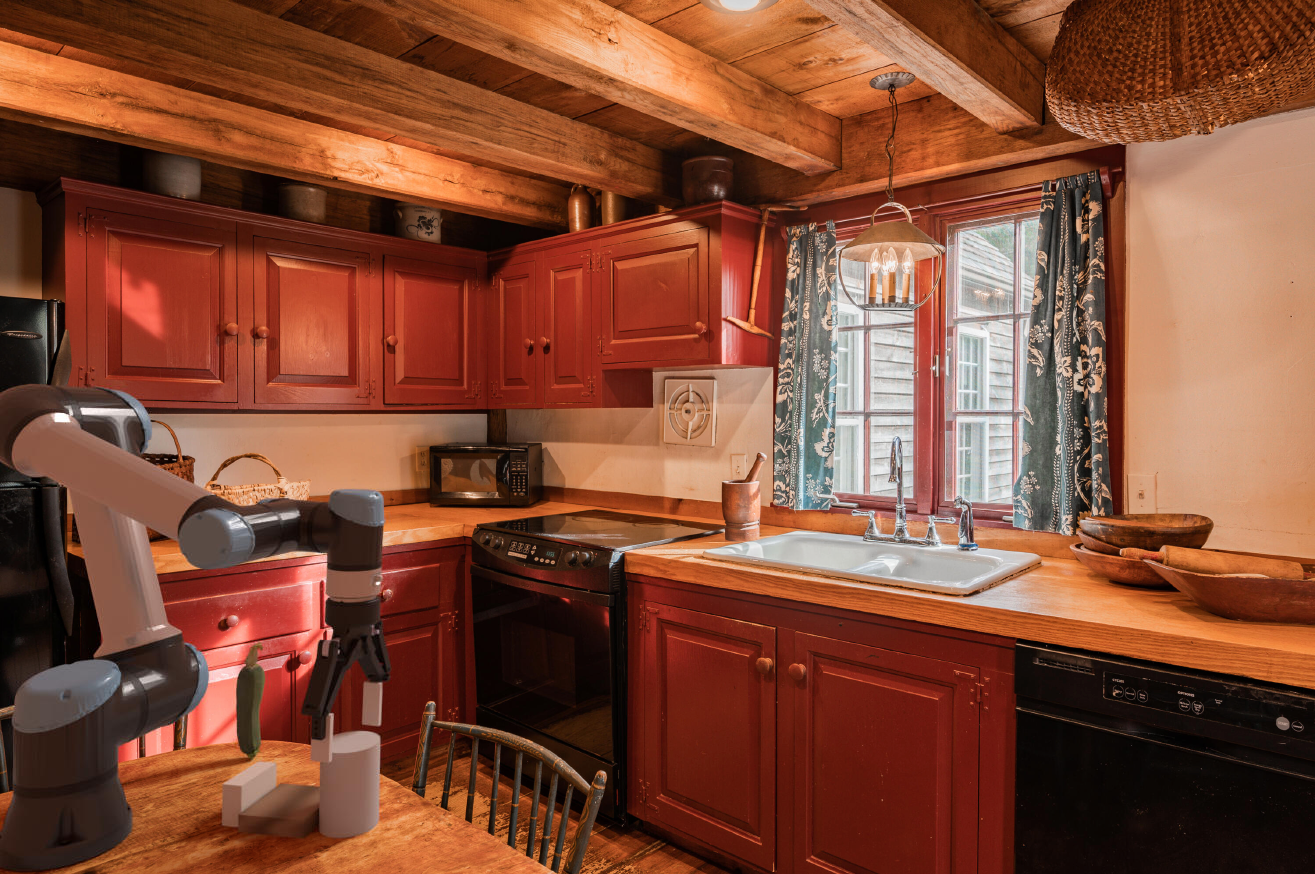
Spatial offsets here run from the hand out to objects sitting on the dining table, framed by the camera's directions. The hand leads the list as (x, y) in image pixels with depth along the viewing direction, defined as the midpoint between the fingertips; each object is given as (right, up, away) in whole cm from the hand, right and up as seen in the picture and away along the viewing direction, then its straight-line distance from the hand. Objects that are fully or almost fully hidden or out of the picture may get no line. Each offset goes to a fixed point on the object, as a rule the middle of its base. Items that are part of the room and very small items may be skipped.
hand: (347, 741), depth 116 cm
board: (-9, -12, +1) cm, 15 cm away
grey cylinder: (0, -12, 0) cm, 12 cm away
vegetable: (-26, -11, +22) cm, 36 cm away
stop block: (-16, -12, +2) cm, 19 cm away
